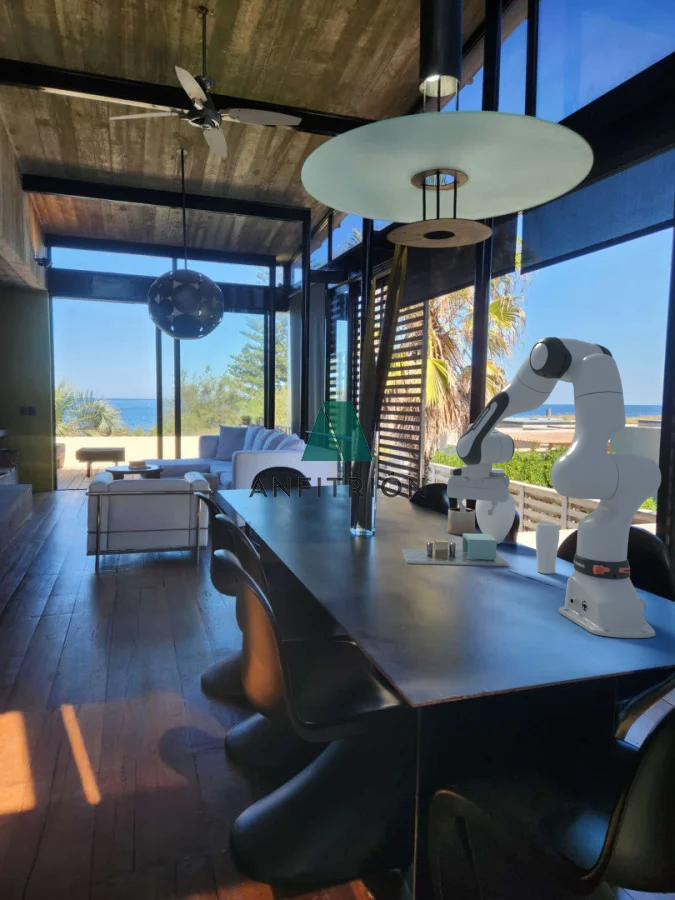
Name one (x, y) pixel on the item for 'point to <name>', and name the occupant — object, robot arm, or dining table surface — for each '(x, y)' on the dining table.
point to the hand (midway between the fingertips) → (476, 513)
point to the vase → (496, 516)
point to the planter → (461, 521)
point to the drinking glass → (546, 546)
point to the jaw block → (440, 548)
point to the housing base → (453, 557)
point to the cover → (479, 546)
